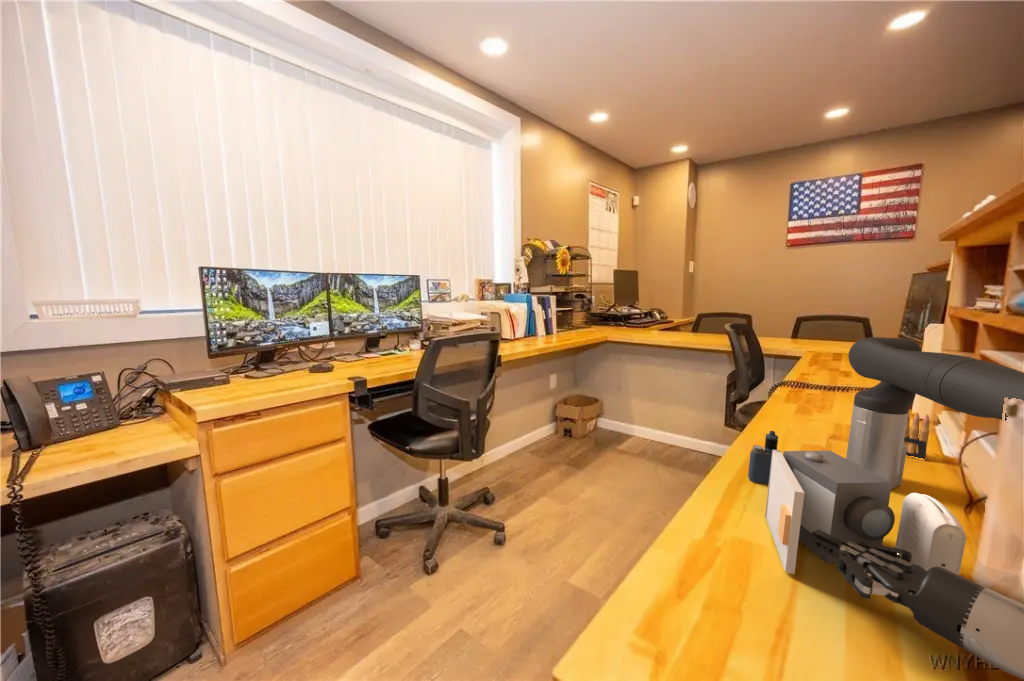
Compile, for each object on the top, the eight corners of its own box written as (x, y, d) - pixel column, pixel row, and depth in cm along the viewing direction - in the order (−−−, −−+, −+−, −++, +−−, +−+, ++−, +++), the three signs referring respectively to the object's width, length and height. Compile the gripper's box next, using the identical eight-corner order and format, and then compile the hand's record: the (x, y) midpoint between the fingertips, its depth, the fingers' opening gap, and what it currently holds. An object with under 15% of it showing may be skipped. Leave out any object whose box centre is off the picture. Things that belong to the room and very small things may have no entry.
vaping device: (775, 485, 91) (781, 434, 89) (750, 482, 92) (755, 432, 90) (770, 479, 93) (776, 430, 92) (746, 477, 94) (750, 428, 93)
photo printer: (960, 603, 58) (975, 523, 56) (920, 593, 59) (934, 516, 58) (923, 558, 67) (935, 489, 65) (889, 551, 69) (900, 483, 67)
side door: (772, 516, 78) (780, 450, 76) (795, 574, 63) (805, 493, 60) (761, 514, 79) (768, 448, 77) (779, 570, 63) (789, 490, 61)
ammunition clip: (870, 447, 112) (876, 406, 110) (871, 446, 113) (877, 404, 111) (924, 461, 104) (932, 416, 102) (925, 458, 105) (933, 414, 103)
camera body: (821, 519, 78) (830, 446, 76) (893, 572, 64) (907, 485, 62) (775, 520, 78) (783, 447, 75) (837, 573, 63) (850, 485, 61)
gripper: (1006, 572, 49) (838, 502, 64) (964, 613, 43) (790, 525, 58) (994, 627, 50) (832, 545, 65) (952, 674, 44) (785, 572, 59)
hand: (813, 536), depth 62 cm, fingers closed
